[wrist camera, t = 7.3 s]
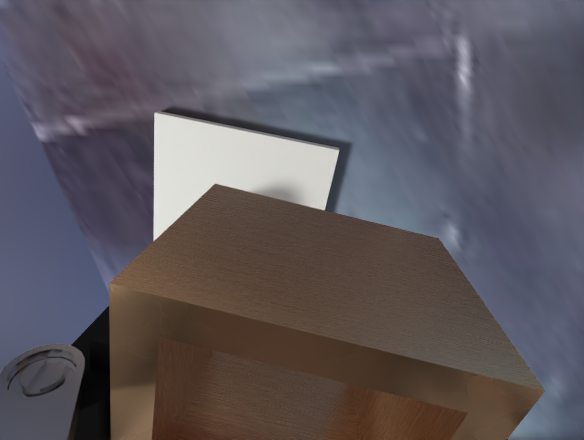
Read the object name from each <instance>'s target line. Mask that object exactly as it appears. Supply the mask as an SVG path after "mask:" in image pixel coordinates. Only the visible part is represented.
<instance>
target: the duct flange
mask: <svg viewBox="0 0 584 440" xmlns="http://www.w3.org/2000/svg"><path fill="white" fill-rule="evenodd" d="M338 154H339V148H338V147H333V146H328V145H323V144H318V143H313V142H308V141H303V140H299V139H294V138H289V137H284V136H279V135H274V134H269V133H264V132H259V131H254V130H250V129H245V128H240V127H235V126H230V125H225V124H220V123H215V122H210V121H206V120H201V119H196V118H191V117H186V116H181V115H176V114H171V113H166V112H162V111H160V112H155V124H154V241H155V240H156V239H157V238H158V237H159V236H160V235H161V234H162V233H163V232H164V231H165V230H166V229H167V228H168V227H169V226H171V225H172V224H173V223H174V222H175V221H176V220H177V219H178V218H179V217H180V216H181V215H182V214H183V213H184V212H185V211H186V210H188V209H189V208H190V207H191V206H192V205H193V204H194V203H195V202H196V201H197V200H198V199H199V198H200V197H201V196H202V195H203V194H204V193H206V192H207V191H208V190H209V189H210V188H211V187H212V186H213V185H214V184H219V185H223V186H227V187H231V188H235V189H240V190H244V191H248V192H252V193H256V194H260V195H264V196H268V197H272V198H276V199H280V200H284V201H288V202H292V203H296V204H300V205H304V206H309V207H313V208H317V209H321V210H325V207H326V203H327V199H328V195H329V191H330V187H331V183H332V178H333V174H334V170H335V166H336V162H337V158H338Z"/></svg>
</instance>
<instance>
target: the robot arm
mask: <svg viewBox="0 0 584 440" xmlns="http://www.w3.org/2000/svg"><path fill="white" fill-rule="evenodd" d="M0 440H111V412H110V322H109V306H108V307H107V308H106V309H105V310H104V312H103V313H102V314H101V315H100V316H99V317H98V318H97V319H96V320H95V321H94V322H93V323H92V324H91V325H90V326H89V327H88V328H87V329H86V330H85V331H84V332H83V333H82V334H81V336H80V337H79V338H78V339H77V340H76V341H75V342H74V343H73V344H72V345H71V346H70V345H66V344H49V345H43V346H39V347H36V348H33V349H31V350H28V351H26V352H24V353H22V354H20V355H19V356H17V357H15V358H14V359H13V360H12V361H10V362H9V363H8V364H7V365H6V366H5V367H4V368H3V369H2V371H1V372H0ZM507 440H508V439H507Z"/></svg>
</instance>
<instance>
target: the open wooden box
mask: <svg viewBox="0 0 584 440" xmlns="http://www.w3.org/2000/svg"><path fill="white" fill-rule="evenodd" d="M109 322H110V412H111V440H507V438H508V437H509V436H510V435H511V433H512V432H513V431H514V430H515V428H516V427H517V426H518V425H519V423H520V422H521V421H522V420H523V418H524V417H525V416H526V414H527V413H528V412H529V411H530V409H531V408H532V407H533V406H534V404H535V403H536V402H537V401H538V399H539V398H540V397H541V396H542V394H543V393H544V392H545V390H544V388H543V387H542V385H541V384H540V383H539V381H538V380H537V378H536V377H535V375H534V374H533V373H532V371H531V370H530V368H529V367H528V365H527V364H526V363H525V361H524V360H523V358H522V357H521V355H520V354H519V353H518V351H517V350H516V348H515V347H514V345H513V344H512V343H511V341H510V340H509V338H508V337H507V335H506V334H505V333H504V331H503V330H502V328H501V327H500V325H499V324H498V323H497V321H496V320H495V318H494V317H493V315H492V314H491V312H490V311H489V310H488V308H487V307H486V305H485V304H484V302H483V301H482V300H481V298H480V297H479V295H478V294H477V292H476V291H475V290H474V288H473V287H472V285H471V284H470V282H469V281H468V280H467V278H466V277H465V275H464V274H463V272H462V271H461V270H460V268H459V267H458V265H457V264H456V262H455V261H454V260H453V258H452V257H451V255H450V254H449V252H448V251H447V250H446V248H445V247H444V245H443V244H442V242H441V241H440V240H439V238H434V237H430V236H426V235H422V234H418V233H414V232H410V231H406V230H402V229H398V228H394V227H390V226H386V225H382V224H378V223H374V222H369V221H365V220H361V219H357V218H353V217H349V216H345V215H341V214H337V213H333V212H329V211H325V210H321V209H317V208H313V207H309V206H304V205H300V204H296V203H292V202H288V201H284V200H280V199H276V198H272V197H268V196H264V195H260V194H256V193H252V192H248V191H244V190H240V189H235V188H231V187H227V186H223V185H219V184H214V185H213V186H212V187H211V188H210V189H209V190H208V191H207V192H206V193H204V194H203V195H202V196H201V197H200V198H199V199H198V200H197V201H196V202H195V203H194V204H193V205H192V206H191V207H190V208H189V209H188V210H186V211H185V212H184V213H183V214H182V215H181V216H180V217H179V218H178V219H177V220H176V221H175V222H174V223H173V224H172V225H171V226H169V227H168V228H167V229H166V230H165V231H164V232H163V233H162V234H161V235H160V236H159V237H158V238H157V239H156V240H155V241H154V242H153V243H151V244H150V245H149V246H148V247H147V248H146V249H145V250H144V251H143V252H142V253H141V254H140V255H139V256H138V257H137V258H136V259H135V260H133V261H132V262H131V263H130V264H129V265H128V266H127V267H126V268H125V269H124V270H123V271H122V272H121V273H120V274H119V275H118V276H116V277H115V278H114V279H113V280H112V281H111V282H110V283H109Z"/></svg>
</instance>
